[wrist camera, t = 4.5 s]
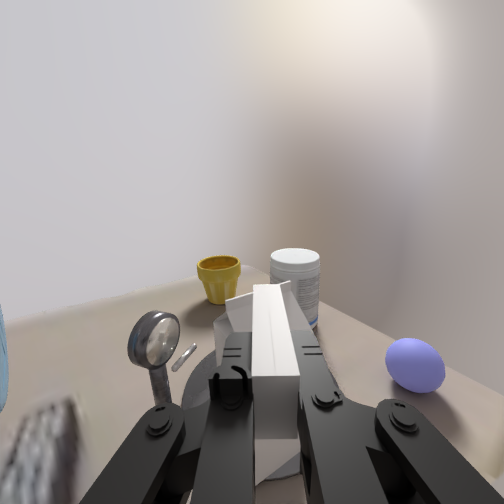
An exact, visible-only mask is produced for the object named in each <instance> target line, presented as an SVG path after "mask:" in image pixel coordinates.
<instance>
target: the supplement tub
mask: <svg viewBox="0 0 504 504" xmlns="http://www.w3.org/2000/svg"><path fill="white" fill-rule="evenodd" d="M289 280H290V281H291V292H292V293H293V295H294V297H295V299H296V301H297V303H298V305H299V306H300V308H301V310H302V312H303V314H304V316H305V317H306V319H307V321H308V323H309V325H310V327H311V329H313V328H314V327H315V326H316V324H317V321H318V302H319V282H320V256H319V255H318V254H317V253H316V252H314V251H311V250H307V249H300V248H288V249H281V250H277V251H275V252H273V253H272V254H271V261H270V284H280V283H283V282H286V281H289Z"/></svg>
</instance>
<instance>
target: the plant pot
mask: <svg viewBox="0 0 504 504" xmlns="http://www.w3.org/2000/svg"><path fill="white" fill-rule="evenodd" d="M197 272H198V277H199V279H200V280H201V281H202V283H203V285H204V288H205V291H206V294H207V297H208V300H209V301H210V302H211V303H213V304H217V305H221V304H225V300H228V299H231V298H234V297H235V294H236V287H237V280H238V277H239V276H240V273H241V266H240V260H239V259H238V258H236V257H233V256H227V255H226V256H225V255H221V256H212V257H208V258H205V259H202V260H200V261H199V262H198V263H197Z"/></svg>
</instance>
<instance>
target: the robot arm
mask: <svg viewBox="0 0 504 504" xmlns="http://www.w3.org/2000/svg"><path fill="white" fill-rule="evenodd" d="M208 382H209V391H210V398H209V399H208V400H207V401H206V402H204V403H203V404H201V405H198V406H196V407H193V408H190V409H187V410H184V411H182V409H181V408H180V406H178V405H176V404H174V403H163V404H159V405H156V406H154V407H153V408H151V409H150V410H148V411H147V412H146V413H145V414H144V415H143V416H142V417H141V418H140V420H139V421H138V422H137V424H136V425H135V426H134V428H133V429H132V431H131V432H130V433H129V435H128V436H127V438H126V439H125V440H124V442H123V443H122V445H121V446H120V447H119V449H118V450H117V451H116V453H115V454H114V456H113V457H112V458H111V460H110V461H109V463H108V464H107V465H106V467H105V468H104V469H103V471H102V472H101V474H100V475H99V476H98V478H97V479H96V481H95V482H94V483H93V485H92V486H91V488H90V489H89V490H88V492H87V493H86V494H85V496H84V497H83V499H82V500H81V501H80V503H79V504H186V503H187V500H188V498H189V495H190V493H191V490H192V489H193V491H192V496H191V502H190V504H255V439H298V434H299V440H300V472H299V474H303V480H304V486H305V492H306V499H307V504H504V498H502V497H501V495H500V494H499V493H498V492H497V491H496V490H495V489H494V488H493V487H492V486H491V485H490V484H489V483H488V482H487V481H486V480H485V479H484V478H483V477H482V476H481V475H480V474H479V472H478V471H477V470H476V469H475V468H474V467H473V466H472V465H471V464H470V463H469V462H468V461H467V460H466V459H465V458H464V457H463V456H462V455H461V454H460V453H459V452H458V451H457V450H456V449H455V448H454V447H453V446H452V444H451V443H450V442H449V441H448V440H447V439H446V438H445V437H444V436H443V435H442V434H441V433H440V432H439V431H438V430H437V429H436V428H435V427H434V426H433V425H432V424H431V423H430V422H429V421H428V420H427V419H426V417H425V416H424V415H423V414H421V413H420V412H419V411H418V410H417V409H415V408H414V407H413V406H411V405H409V404H407V403H405V402H403V401H399V400H396V399H385V400H383V401H381V402H379V404H378V406H377V408H373V407H370V406H366V405H362V404H359V403H356V402H354V401H351V400H350V399H348V398H346V397H345V396H344V394H343V393H342V391H341V390H339V389H338V388H337V387H336V386H335V385H334V383H333V380H332V377H331V375H330V372H329V369H328V367H327V364H326V361H325V359H324V356H323V355H322V351H321V348H320V346H319V343H318V340H317V338H316V336H315V335H314V334H313V333H312V332H311V331H309V330H290V328H289V324H288V319H287V315H286V310H285V306H284V302H283V297H282V293H281V288H280V284H262V285H253V325H252V332H231V333H230V335H229V336H228V337H227V338H226V340H225V345H224V350H223V357H222V361H221V365H220V366H218V367H217V368H215V369H214V370H213V371H212V372H211V374H210V376H209V378H208ZM7 392H8V354H7V342H6V333H5V326H4V320H3V315H2V310H1V306H0V412H1V411H2V409H3V407H4V405H5V402H6V398H7Z"/></svg>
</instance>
